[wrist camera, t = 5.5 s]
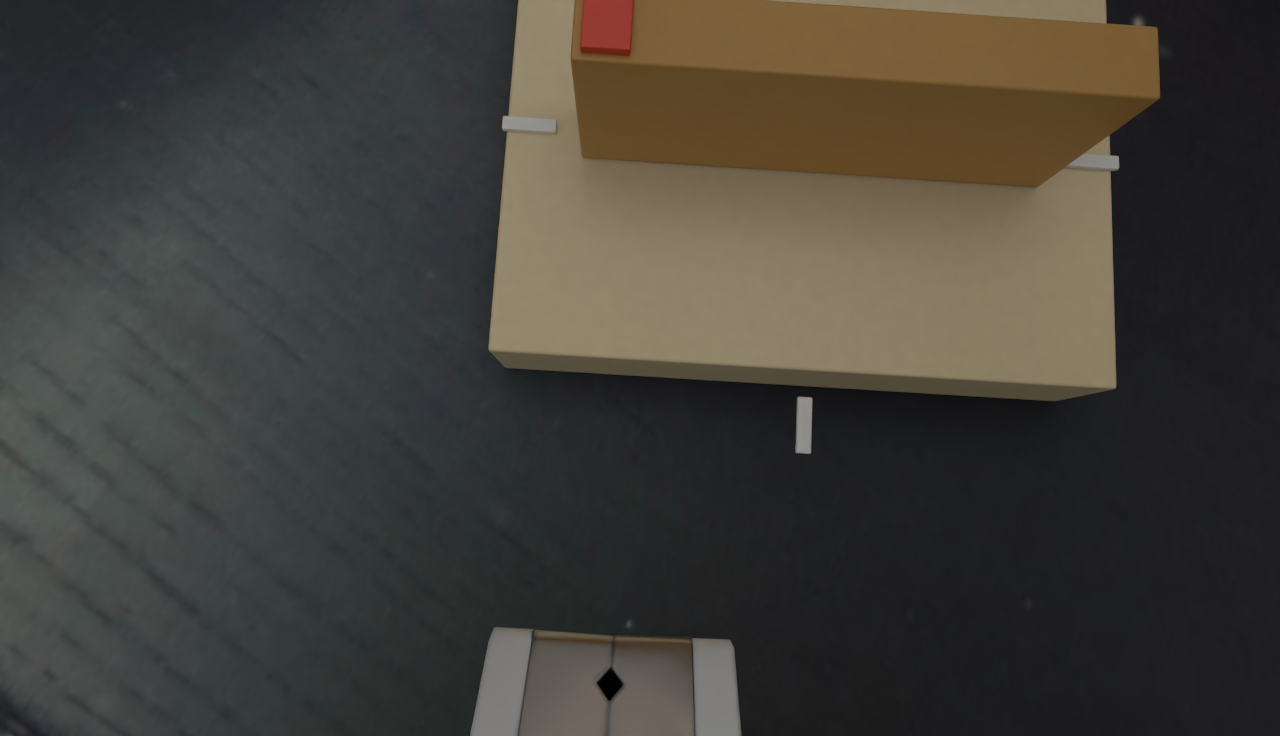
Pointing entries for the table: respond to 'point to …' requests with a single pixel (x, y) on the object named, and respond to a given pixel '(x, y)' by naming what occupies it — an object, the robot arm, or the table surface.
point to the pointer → (853, 88)
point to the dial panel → (795, 257)
